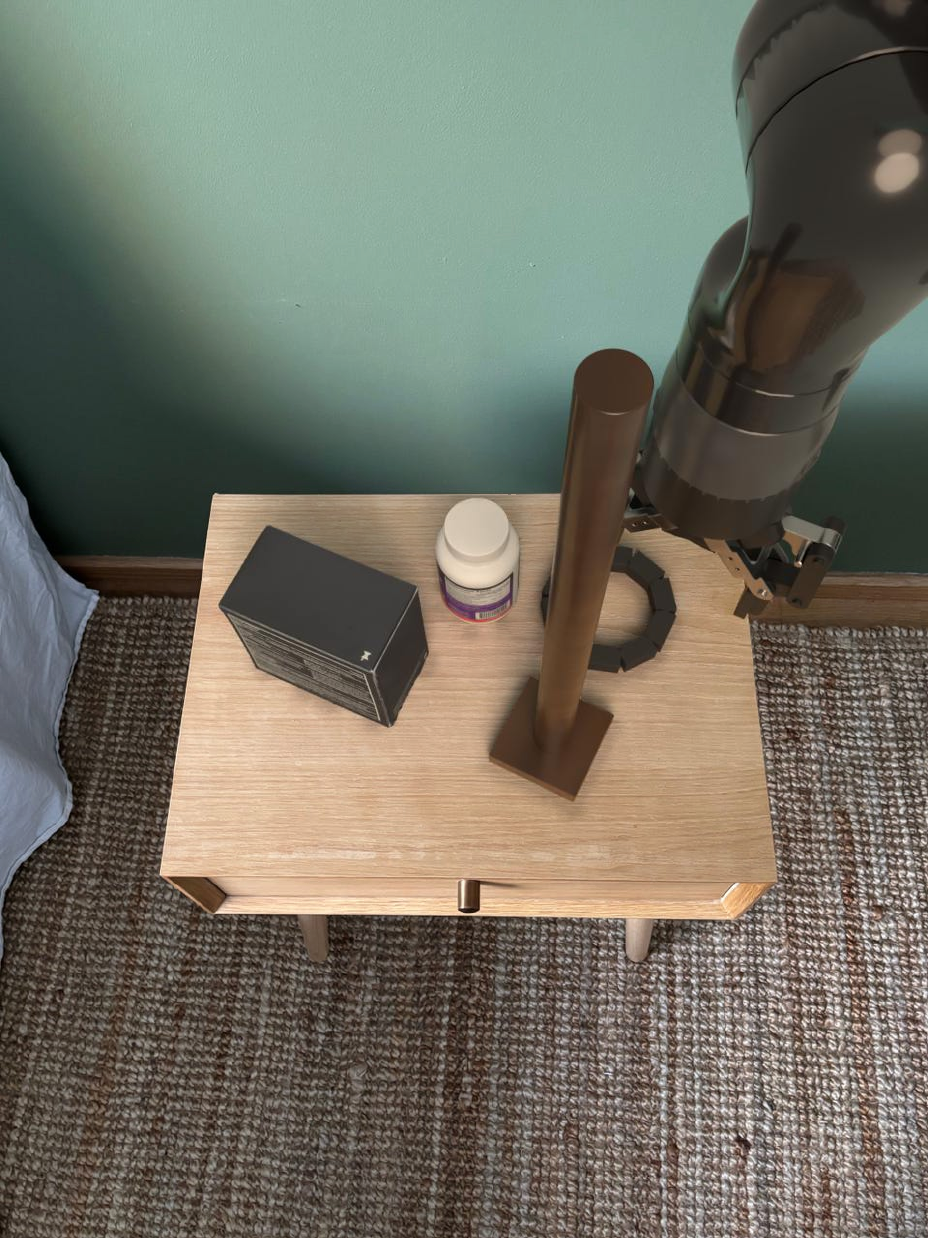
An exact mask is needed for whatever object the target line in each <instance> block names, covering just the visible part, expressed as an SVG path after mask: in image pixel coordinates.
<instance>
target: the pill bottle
mask: <svg viewBox="0 0 928 1238" xmlns="http://www.w3.org/2000/svg"><path fill="white" fill-rule="evenodd" d="M434 548H435V549H434V551H435V552H434V554H435V561H436V565H437V573H438V582H439V588H440V589H439V590H440V594H441V598H442V602H443V604H444V606H445V608H446V609H447V610H448V612H449V613H450V614H451V615H452V616H454V617H455V618H456V619H458V620H460V621H461V622H464V623H467V624H469V625H470V624H471V625H475V626H476V625H480V626H481V625H482V626H483V625H489V624H493V623H495V622H498V621H500V620H501V619H503V618H504V617H505V616H507V615H508V613H510V612H511V610H512V609H513V607H514V606H515V604H516V602H517V598H518V595H519V590H520V589H519V588H520V558H521V545H520V539H519V535H518V533H517V531H516V529H515V527H514V526H513V524H512V523H511V522H510V521H509V518H508V515H507V514H506V511H505V510H504V509H503V508H502V506H500V505H499V504H498V503H496V502H495V501H493V500H490V499H488V498H485V497H470V498H469V497H468V498H466V499H463V500H461V501H459V502H457V503H456V504H455V505H453V506H452V507H451V508H450V510H449V511H448V513H447V514H446V516H445V519H444V523H443V524H442V526H441V528H440V530H439V531H438V534H437V537H436V541H435V547H434Z"/></svg>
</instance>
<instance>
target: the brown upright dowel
mask: <svg viewBox="0 0 928 1238" xmlns="http://www.w3.org/2000/svg"><path fill="white" fill-rule="evenodd" d="M572 382H573V383H572V390H571V400H570V408H569V417H568V427H567V435H566V444H565V452H564V459H563V460H564V461H563V470H562V478H561V486H560V487H561V488H560V497H559V504H558V505H559V506H558V513H557V514H558V515H557V523H556V529H555V530H556V532H555V538H554V539H555V540H554V548H553V558H552V566H551V573H552V574H551V573H550V575H551V583H550V592H549V601H548V610H547V618H546V627H545V626H544V635H543V636H544V637H543V645H542V653H541V654H542V655H541V663H540V673H539V679H538V678H536V677H534V676H532V675H529V677H528V678H527V680H526V683H525V684H524V686H523V688H522V691H521V692H520V694H519V696H518V698H517V700H516V703H514V706H513V708H512V710H511V712H510V714H509V716H508V717H507V719H506V722H505V724H504V725H503V728H502V730H501V732H500V734H499V736H498V737H497V739H496V741H495V743H494V745H493V747H492V749H491V750H490V753H489V763H492V764H494V765H495V766H499V767H500V768H502V769H504V770H506V771H508V772H511V773H512V774H515V775H517V776H519V777H520V778H523V779H525V780H526V781H529V782H531V783H533V784H535V785H537V786H539V787H540V788H543V789H545V790H547V791H549V792H551V793H553V794H555V795H557V796H559V797H562V798H563V799H565V800H568V801H570V802H572V803H575V801H576V799H577V797H578V794H579V793H580V790H581V788H582V787H583V784H584V782H585V780H586V778H587V776H588V774H589V771H590V769H591V767H592V765H593V763H594V761H595V759H596V757H597V755H598V752H599V750H600V748H601V746H602V744H603V742H604V740H605V737H606V735H607V733H608V731H609V729H610V727H611V725H612V723H613V720H614V717H615V715H614V713H611V712H610V711H607V710H605V709H603V708H601V707H598V706H596V705H594V704H591V703H590V702H587V701H586V700H584V699H581V697H582V693H583V690H584V685H585V680H586V677H587V672H588V669H587V668H588V664H589V660H590V656H591V651H592V647H593V644H595V643H594V642H595V639H596V635H597V629H598V626H599V621H600V617H601V613H602V608H603V605H604V600H605V595H606V592H607V587H608V584H609V579H610V575H611V572H612V571H611V567H612V563H613V559H614V554H615V550H616V546H618V545H617V542H618V538H619V533H620V529H621V525H622V521H623V516H624V512H625V508H626V504H627V500H628V495H629V491H630V487H631V483H632V478H633V474H634V470H635V466H636V462H637V457H638V453H639V450H640V449H641V444H642V440H643V435H644V432H645V427H646V424H647V418H648V415H649V411H650V406H651V402H652V398H653V394H654V389H655V378H654V374H653V371H652V369H651V368H650V366H649V364H648V363H647V362H646V361H645V360H644V359H643V358H641V357H640V356H639V355H638V354H636V353H634V352H631V351H629V350H626V349H622V348H614V347H613V348H610V347H609V348H603V349H599V350H596V351H594V352H592V353H590V354H588V355H587V356H586V357H584V358H583V359H582V360H581V362H580V363H579V364H578V366H577V367H576V369H575V371H574V375H573V381H572Z"/></svg>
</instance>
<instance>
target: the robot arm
mask: <svg viewBox="0 0 928 1238" xmlns="http://www.w3.org/2000/svg"><path fill="white" fill-rule="evenodd" d="M732 54H733V55H732V61H731V75H730V83H731V90H732V92H731V93H732V100H733V107H734V114H735V119H736V120H735V121H736V126H737V133H738V140H739V146H740V151H741V157H742V164H743V170H744V177H745V184H746V185H745V186H746V192H747V198H748V214H746V215H744V216H743V217H741V218H740V219H738V220H736V221H735V222H734V223H732V224H731V225H729V227H728V228H726V229H725V230H724V231H723V232H722V233H721V235H719V237H718V239H716V240H715V242H714V243H713V244H712V246H711V248H710V249H709V251H708V253H707V255H706V257H705V259H704V261H703V263H702V265H701V267H700V269H699V272H698V275H697V277H696V279H695V282H694V285H693V289H692V292H691V295H690V298H689V303H688V307H687V311H686V314H685V318H684V321H683V325H682V329H681V331H680V336H679V339H678V342H677V344H676V347H675V349H674V350H673V352H672V354H671V356H670V357H669V360H668V362H667V364H666V367H665V368H664V369H665V370H664V371H663V372H664V373H663V374H662V379H661V382H660V385H659V386H658V387H657V388H656V391H655V396H654V400H653V405H652V411H653V412H652V415H651V420H650V424H649V428H648V432H647V435H646V438H645V442H644V446H643V447H640V449H639V453H638V457H637V462H636V466H635V470H634V474H633V478H632V483H631V487H630V491H629V495H628V500H627V504H626V508H625V512H624V516H623V521H622V525H621V529H620V533H619V538H618V542H617V546H619V543H620V541H621V539H622V537H623V534H624V532H625V529H626V530H627V531H628V532H629V533H630V534H634V533H640V532H644V531H645V532H646V531H650V530H657V529H661V531H662V532H665V533H667V534H669V535H671V536H673V537H677V538H680V539H684V540H688V541H689V542H692V543H693V544H694V545H697V546H698V547H699V548H701V549H704V550H706V551H708V552H711V553H713V554H717V556H718V557H719V558H720V559H721V562H722V563H723V564H724V566H725V567H726V569H727V570H728V572H729V573H730V575H731V576H732V577H733V578H734V579H738V580H739V579H740V580H743V581H744V583H745V587H744V588H743V591H742V593H741V596H740V598H739V600H738V602H737V604H736V606H735V609H734V610H733V613H732V615H733V616H735V617H737V618H739V619H741V620H745V619H746V617H747V615H748V614H750V615H752V616H754V617H757V616H760V615H761V614H762V613H763V612H764V610H765V609H766V607H767V606H768V604H769V603H770V601H772V600H773V598H774V597H784V598H785V601H786V603H787V604H788V605H789V606H791V607H792V608H795V609H799V610H806V609H808V608H809V606H810V604H811V602H812V601H813V598H815V597H814V596H815V595H816V594H817V591H818V590H819V588H820V586H821V584H822V583H823V581H824V578H825V577H826V575H827V574H828V571H829V570H830V568H831V566H832V563H833V562H834V558H835V557H836V554H837V552H838V549H839V548H840V547H839V546H840V545H841V542H842V539H843V537H844V534H845V532H846V530H847V527H848V525H847V523H846V521H844V519H842V518H840V517H838V516H834V515H827V516H823V519H822V520H821V522H820V524H819V525H817V524H815V523H812V522H809V521H807V520H804V519H801V518H799V517H796V516H793V510H792V507H791V504H792V503H791V502H793V499H794V497H795V495H797V492H798V490H799V488H800V487H801V485H802V483H803V481H804V480H805V478H806V477H807V475H808V473H809V472H810V470H812V468H813V467H814V466H815V465H816V463H817V461H818V460H819V458H820V455H821V452H822V448H823V446H824V445H825V443H826V440H827V439H828V437H829V435H830V434H831V431H832V429H833V426H834V424H835V422H836V419H837V416H838V413H839V409H840V406H841V403H842V400H843V398H844V395H845V393H846V391H847V389H848V388H849V386H850V384H851V382H852V381H853V379H854V376H855V375H856V373H857V371H858V369H859V368H860V366H861V364H862V362H863V361H864V359H865V356H866V355H867V353H868V352H869V349H870V348H871V346H872V345H873V344H874V343H876V341H878V340H879V339H881V337H882V336H884V335H886V333H888V332H889V331H890V330H892V329H893V328H894V327H896V326H897V325H899V323H900V322H901V321H902V320H904V319H905V318H906V317H907V316H908V315H909V314H910V313H911V312H912V311H913V310H914V309H916V308H918V306H919V305H920V304H922V303H923V302H924V301H925V300H926V299H928V0H755V1H754V4H753V5H752V7H751V8H750V10H749V12H748V14H747V16H746V19H745V20H744V23H743V24H742V27H741V29H740V31H739V33H738V37H737V39H736V43H735V47H734V50H733V53H732ZM782 540H784V541H785V542H787V543H788V544H789V545H790V547H791V549H790V551H791V553H792V554H793V556H795V558H794V559H793V563H791V562H789V561H790V560H789V558H788V556H787V554H786V553H785V552H784V550H783V548H782V546H781V545H780V542H781V541H782ZM617 546H616V547H617Z"/></svg>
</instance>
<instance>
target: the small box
mask: <svg viewBox="0 0 928 1238" xmlns="http://www.w3.org/2000/svg"><path fill="white" fill-rule="evenodd" d="M419 591H420V589H419V586H417V585H415V584H413V583H410V582H409V581H405V580H403V579H401V578H399V577H396V576H393V575H391V574H389V573H386V572H384V571H382V570H378V569H376V568H373V567H371V566H369V565H366V564H364V563H362V562H359V561H357V560H354V559H352V558H349V557H348V556H344V555H342V554H340V553H336V552H335V551H332V550H331V549H328V548H325V547H323V546H320V545H318V544H316V543H313V542H311V541H309V540H306V539H303V538H301V537H299V536H296V535H295V534H291V533H290V532H287V531H285V530H282V529H280V528H278V527H275V526H273V525H270V524H267V525H266V526H265V527H264V529H263V530H262V532H261V533H260V534H259V536H258V538H257V539H256V540H255V542H254V544H253V545H252V547H251V549H250V550H249V552H248V554H247V556H246V557H245V558H244V560H243V563H242V564H241V565H240V566H239V569H238V570H237V572H236V574H235V575H234V576H233V578H232V580H231V582H230V583H229V585H228V587H227V588H226V590H225V592H224V593H223V595H222V597H221V599H220V601H219V602H218V605H217V606H218V609H219V610H220V611H221V612H222V613H223V615H224V616H225V617H226V619H227V620H228V621H229V623H230V625H231V626H232V628H233V630H234V632H235V634H236V635H237V636H238V638H239V640H240V642H241V643H242V645H243V647H244V649H245V651H246V652H247V654H248V655H249V657H250V659H251V661H252V663H253V665H254V667H255V669H257V670H259V671H262V672H264V673H266V674H268V675H269V676H272V677H274V678H276V679H279V680H281V681H283V682H285V683H287V684H290V685H292V686H294V687H296V688H297V689H301V690H303V691H305V692H307V693H310V694H312V695H314V696H316V697H318V698H320V699H323V700H325V701H327V702H329V703H331V704H333V705H336V706H338V707H340V708H343V709H345V710H347V711H349V712H352V713H353V714H356V715H358V716H359V717H362V718H364V719H368V720H370V721H372V722H375V723H376V724H379V725H382V726H384V727H385V728H387V729H388V728H391V727H393V726H394V725H395V723H396V722H397V719H398V717H399V714H400V711H401V710H402V709H403V705H404V703H405V702H406V699H407V697H408V696H409V693H410V691H411V689H412V688H413V687H414V685H415V681H416V680H417V678H418V677H419V676H420V674H421V672H422V670H423V668H424V666H425V663H426V660H427V658H428V656H429V653H430V649H429V646H428V640H427V634H426V628H425V622H424V616H423V610H422V605H421V599H420V593H419Z"/></svg>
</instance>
